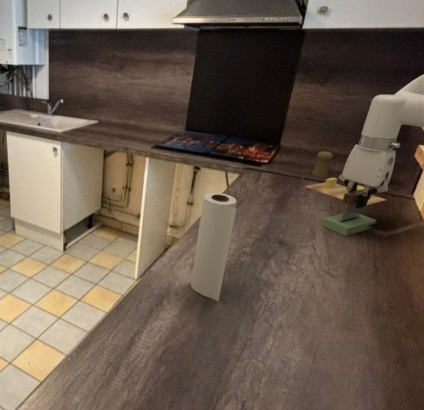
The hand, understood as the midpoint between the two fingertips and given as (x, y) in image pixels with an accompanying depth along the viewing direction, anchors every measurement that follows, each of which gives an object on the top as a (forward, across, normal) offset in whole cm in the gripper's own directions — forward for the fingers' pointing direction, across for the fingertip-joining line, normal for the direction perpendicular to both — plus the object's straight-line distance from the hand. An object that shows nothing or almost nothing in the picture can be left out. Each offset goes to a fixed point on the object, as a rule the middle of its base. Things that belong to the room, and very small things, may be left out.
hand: (354, 205), depth 103 cm
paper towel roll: (+7, -7, +60) cm, 61 cm away
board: (+7, +16, -23) cm, 29 cm away
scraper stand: (+7, 0, 0) cm, 7 cm away
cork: (+7, +33, -34) cm, 48 cm away
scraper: (+5, 0, 0) cm, 5 cm away
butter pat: (+5, +21, -23) cm, 32 cm away
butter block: (+5, +12, -23) cm, 27 cm away
